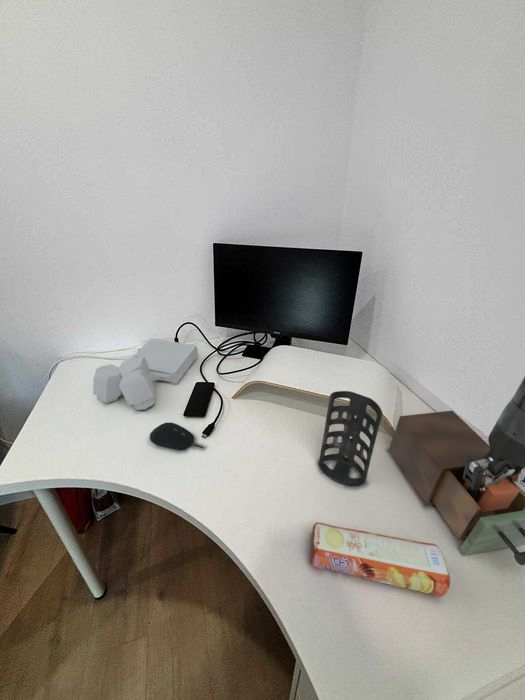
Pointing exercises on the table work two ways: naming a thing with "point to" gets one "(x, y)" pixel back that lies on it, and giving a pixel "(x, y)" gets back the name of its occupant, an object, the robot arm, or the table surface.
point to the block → (497, 495)
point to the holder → (349, 445)
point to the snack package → (380, 558)
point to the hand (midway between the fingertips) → (485, 496)
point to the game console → (144, 372)
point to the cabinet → (433, 449)
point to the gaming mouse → (172, 436)
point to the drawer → (480, 518)
